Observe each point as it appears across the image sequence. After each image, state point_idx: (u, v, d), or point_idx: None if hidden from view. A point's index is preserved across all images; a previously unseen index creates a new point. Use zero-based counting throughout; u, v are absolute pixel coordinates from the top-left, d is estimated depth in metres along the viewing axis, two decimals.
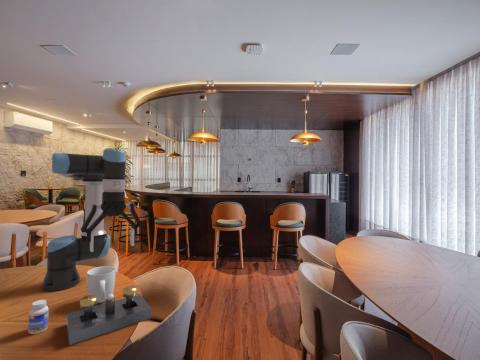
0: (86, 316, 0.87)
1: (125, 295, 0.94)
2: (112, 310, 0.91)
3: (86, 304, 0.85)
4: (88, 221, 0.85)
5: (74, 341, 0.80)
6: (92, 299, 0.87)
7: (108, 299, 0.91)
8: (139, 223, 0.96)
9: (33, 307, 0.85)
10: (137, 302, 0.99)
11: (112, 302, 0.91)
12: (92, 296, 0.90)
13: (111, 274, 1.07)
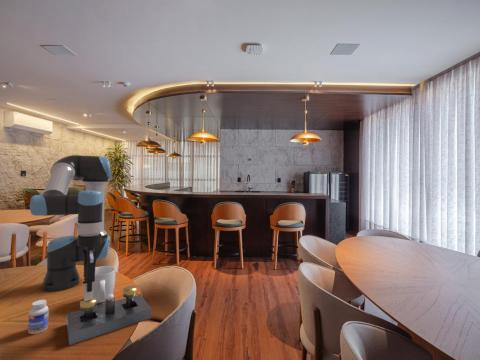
0: (86, 318, 0.87)
1: (125, 295, 0.94)
2: (112, 310, 0.91)
3: (86, 306, 0.85)
4: None
5: (74, 341, 0.80)
6: (92, 301, 0.87)
7: (108, 299, 0.91)
8: (86, 279, 0.85)
9: (33, 307, 0.85)
10: (137, 302, 0.99)
11: (112, 302, 0.91)
12: None
13: (111, 274, 1.07)
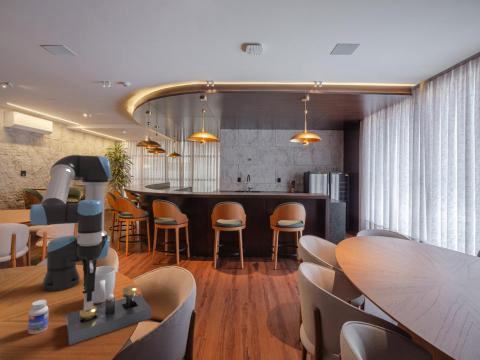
0: None
1: (125, 295, 0.94)
2: (112, 310, 0.91)
3: (86, 315, 0.86)
4: None
5: (74, 341, 0.80)
6: (92, 310, 0.87)
7: (108, 299, 0.91)
8: (86, 289, 0.85)
9: (33, 307, 0.85)
10: (137, 302, 0.99)
11: (112, 302, 0.91)
12: None
13: (111, 274, 1.07)
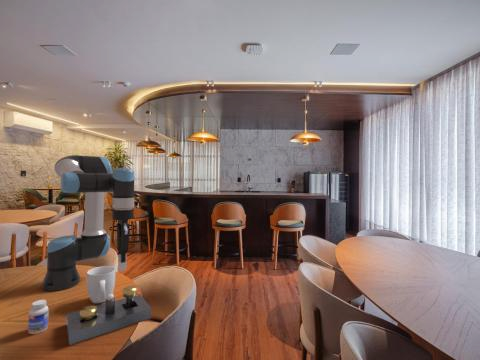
0: None
1: (125, 295, 0.94)
2: (112, 310, 0.91)
3: (86, 315, 0.86)
4: (117, 239, 0.97)
5: (74, 341, 0.80)
6: (92, 310, 0.87)
7: (108, 299, 0.91)
8: (120, 250, 0.91)
9: (33, 307, 0.85)
10: (137, 302, 0.99)
11: (112, 302, 0.91)
12: (92, 306, 0.90)
13: (111, 274, 1.07)
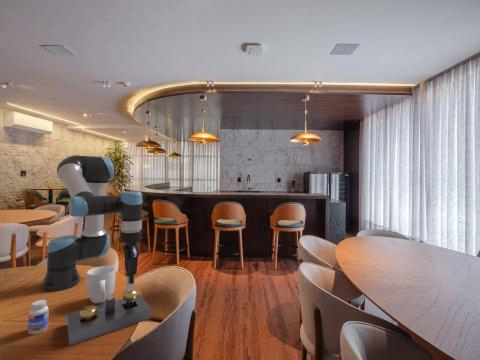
0: None
1: (125, 298, 0.94)
2: (112, 310, 0.91)
3: (86, 315, 0.86)
4: (125, 260, 0.99)
5: (74, 341, 0.80)
6: (92, 310, 0.87)
7: (108, 299, 0.91)
8: (129, 272, 0.93)
9: (33, 307, 0.85)
10: (137, 302, 0.99)
11: (112, 302, 0.91)
12: (92, 306, 0.90)
13: (111, 274, 1.07)
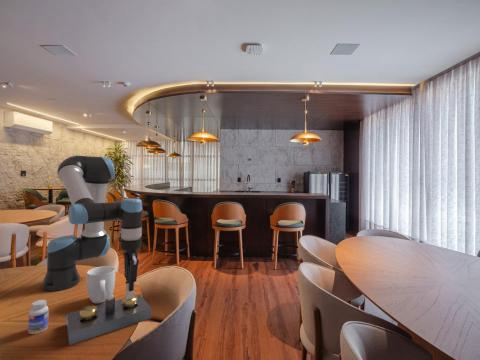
0: None
1: (125, 305, 0.94)
2: (112, 310, 0.91)
3: (86, 315, 0.86)
4: (124, 267, 0.99)
5: (74, 341, 0.80)
6: (92, 310, 0.87)
7: (108, 299, 0.91)
8: (129, 279, 0.93)
9: (33, 307, 0.85)
10: (137, 302, 0.99)
11: (112, 302, 0.91)
12: (92, 306, 0.90)
13: (111, 274, 1.07)
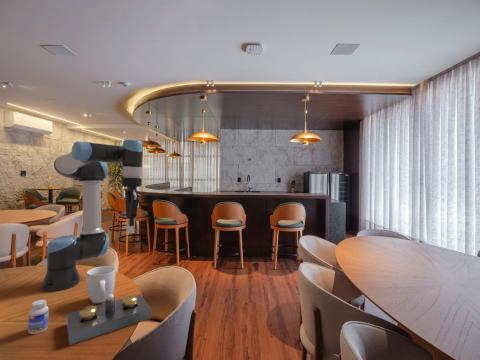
0: None
1: (125, 305, 0.94)
2: (112, 310, 0.91)
3: (86, 315, 0.86)
4: None
5: (74, 341, 0.80)
6: (92, 310, 0.87)
7: (108, 299, 0.91)
8: (130, 214, 1.00)
9: (33, 307, 0.85)
10: (137, 302, 0.99)
11: (112, 302, 0.91)
12: (92, 306, 0.90)
13: (111, 274, 1.07)
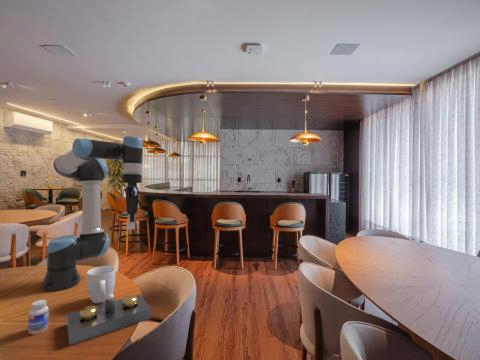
0: None
1: (125, 305, 0.94)
2: (112, 310, 0.91)
3: (86, 315, 0.86)
4: (126, 202, 1.06)
5: (74, 341, 0.80)
6: (92, 310, 0.87)
7: (108, 299, 0.91)
8: (130, 210, 1.01)
9: (33, 307, 0.85)
10: (137, 302, 0.99)
11: (112, 302, 0.91)
12: (92, 306, 0.90)
13: (111, 274, 1.07)
